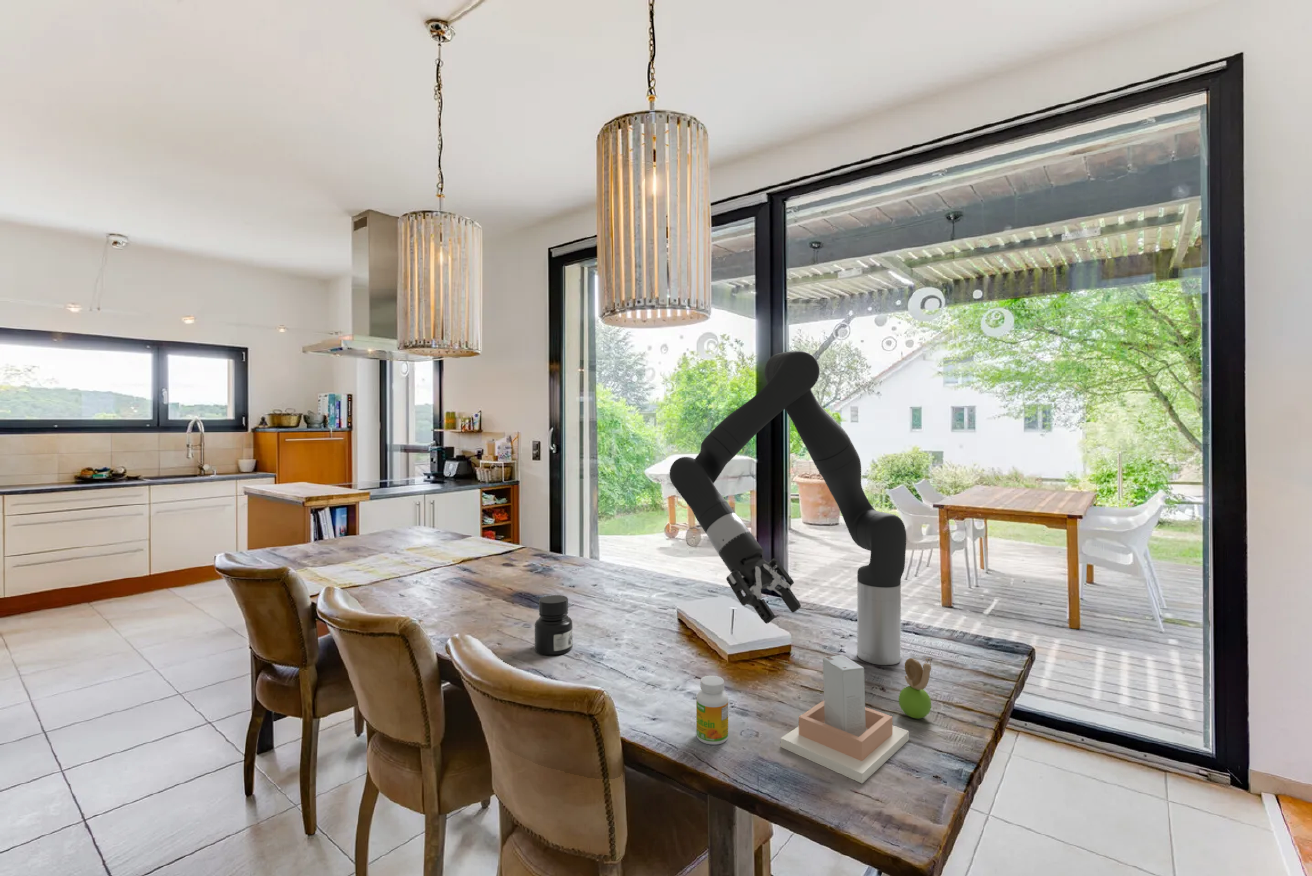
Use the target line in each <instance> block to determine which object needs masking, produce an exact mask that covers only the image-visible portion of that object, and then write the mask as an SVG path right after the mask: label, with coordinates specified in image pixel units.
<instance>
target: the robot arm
mask: <svg viewBox="0 0 1312 876" xmlns="http://www.w3.org/2000/svg"><path fill="white" fill-rule="evenodd" d="M764 367H765V368H764V377H765V381H766V385H764V387H763V388H762V389H761V390H760V391H758V392H757V394H755V395H754V396H753V397H752V398H751V399H749V400H748V401H747V402H745V403H744V404H742V405H740V407H738V408H737V409H736V410H734V411H732V412H731V413H730V414H729V415H727V416H726V417H725V418H724V419H723V420H721V422H719V424H717V426H716V427H714V428H713V430H712V431H711V432H709V434H708V435H707V436H705V438H704V439H703V440H702V442H701V444H700V451H699V453H698V454H697V455H696V457H695V458H694V457H691V456H682V457H679V458H677V459H676V460H675V461H674V462H672V463H671V466H670V469H669V478H670V479H669V480H670V482H671V484H672V485H673V487H674V488H675V489H676V490H677V492H678V493H679V495H680V496H681V497H682V498H683V500H684V501H685V502H686V503H685V504H687V505H688V507H689V508H690V509H691V511H692V513H693V515H694V517H695V518H696V521H697V522H698V523H699V525H700V526H701V528H702V530H703V531H704V533H705V535H706V536H707V538H708V539H709V542H710V544H711V546H712V547H713V548H714V550H715V551H716V553H717V555H718V556H719V557H720V559H721V561H722V562H723V563H724V565H725V566H726V568H727V569H728V570H729V572H730V574H728V575H727V576H726V578H725V579H726V581H727V583H728V585H729V586H730V588H731V590H732V591H733V593H734V595H735V596H736V598H737V599H738V601H739V603H740V604H741V605H742V606H743V607H745V606H746V605H749V607H751V608H754V610H755V611H756V613H757V614H758V616H759V617H760V619H761V620H762V621H763V622H764V623H765V624H769V623H771V622H772V621H773V620H774V619H775V618H776V616H775V614H774V613H773V611H772V609H771V608H770V607H769V605H768V603H767V602H766V601H765V599H764V598H762V589H767V590H768V591H774V592H775V593H777V594H778V595H780V598H781V600H782V602H784V604H785V605H786V607H787V608H788V610H789V611H790V612H791V613H797V611H799V609H800V608H801V607H802V605H801V603H800V601H799V600H798V599H797V597H796V595H795V594H794V593H793V592H792V589H791V588H792V586H793V584H794V583H795V581H794V580H793V578H792V577H791V576H790V574H789V573H788V571H786V569H785V568H784V567H783V566H782V564H781V563H780V562H779V560H778V559H777V558H776V557H774V558H772V559H771V560H770V561H769V562H768V561H766V560H765V559H764V558H763V554H764V549H763V548H762V546H761V545H760V543H759V542H758V541H757V539H756V538H755V537H754V535H753V533H752V532H751V531H750V530H749V528H748V527H747V525H746V524H745V522H744V521H743V520H742V519H741V518H740V517H739V515H737V514H736V513H735V511H734V510H733V508H732V506H731V505H730V504H729V502H728V501H727V500H726V499H725V497H723V495H722V494H721V493H720V491H718V489H717V487H716V485H715V482H716V481H717V479H718V478H719V477H720V475H721V474H722V471H723V470H724V468H725V467H726V466H727V464H729V462H730V461H732V460H733V458H734V457H735V456H737V454H738V453H739V452H740V451H741V450H742V449H743V448H744V447H745V446H746V445H747V444H748V443H749V442H750V441H751V440H752V439H753V438H754V437H755V436H756V435H757V434H758V433H759V432H760V431H761V430H762V429H763V428H764V427H765V426H767V424H768V423H770V422H771V421H772V420H773V419H775V417H776V416H778V415H779V414H781V412H782V411H784V410H785V412H786V414H787V415H788V416H789V418H790V420H791V422H792V425H793V426H794V427H795V430H796V431H797V433H798V435H799V437H800V439H801V441H802V442H803V444H804V446H805V448H806V450H807V452H808V454H809V456H810V458H811V460H812V462H813V464H814V465H815V467H816V469H817V471H818V472H819V474H820V475H821V477H822V479H823V480H824V482H825V483H824V484H825V485H826V486H827V489H829V492H830V494H831V496H832V497H833V499H834V501H835V503H836V504H837V507H838V510H839V511H840V513H841V516H842V519H843V521H844V523H845V526H846V528H847V531H848V534H849V535H850V537H851V539H852V541H853V542H854V543H855V544H856V545H857V546H858V547H859V548H861V549H864V550H866V551H870V555H869V556H870V557H869V558H870V559H869V564H866V565H863V566H860V567H859V568H858V570H857V573H856V575H857V580H856V581H857V586H856V587H857V592H856V594H857V595H856V596H857V598H856V599H857V600H856V601H857V602H856V603H857V604H856V605H857V609H856V613H857V614H856V615H857V619H856V621H857V625H856V627H857V629H856V631H857V634H856V635H857V636H856V637H857V639H856V641H857V642H856V647H857V648H856V651H857V653H856V655H857V657H858V659H860V660H862V661H864V662H867V663H870V664H874V665H879V666H892V665H897V664H899V663H900V662H901V646H902V645H901V644H902V643H901V634H902V633H901V631H902V630H901V627H902V625H901V624H902V623H901V622H902V619H901V617H902V615H901V614H902V613H901V612H902V610H901V609H902V607H901V606H902V604H901V603H902V602H901V601H902V597H901V596H902V595H901V593H902V592H901V590H902V584H901V583H902V576H903V574H904V572H905V568H906V567H905V565H906V564H905V563H906V552H907V551H906V550H907V529H906V526H905V524H904V521H903V519H901V517H899V516H898V515H896V514H892V513H889V512H883V511H880V510H879V511H878V510H876V508H874V507H873V506H872V504H871V502H870V501H869V499H868V498H867V496H866V494H865V492H864V489H863V486H862V463H861V458H860V456H859V454H858V451H857V449H856V448H855V446H854V444H853V442H852V441H851V438H850V437H849V435H848V434H847V432H846V430H844V428H843V427H842V426H841V425H840V424H839V422H837V420H836V419H834V417H833V416H831V415H830V413H829V412H827V410H825V408H824V407H823V406H822V405H821V403H819V401H818V400H817V398H816V396H815V394H814V393H813V390H812V389H813V387H814V386H815V385H816V383H817V382H818V380H819V377H820V365H819V363H818V360H817V358H816V357H815V356H814V355H813V354H811V353H809V352H807V351H805V350H790V351H782V352H779V353H778V352H777V353H776V354H773V355H772V356H770V358H768V360H767V362H766V364H765V366H764ZM782 577H783V578H784V579H785V580H784V579H782ZM742 591H743V592H744V594H745V595H744V594H743V593H742Z"/></svg>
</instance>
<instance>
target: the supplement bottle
mask: <svg viewBox="0 0 1312 876" xmlns="http://www.w3.org/2000/svg"><path fill="white" fill-rule="evenodd" d="M695 710H696V713H695V714H696V722H695V723H696V726H695V727H696V728H695V729H696V732H695V733H696V734H695V735H696V737H697V739H698V740H699V741H700V742H701V743H704V744H707V745H710V746H711V745H713V746H714V745H721V744H724V743H725V742H726V741H727V740H728V737H729V696H728V693H727V692H726V691H725V680H724V679H723V678H722V677H721V676H719V675H718V676H717V675H706V676H705V675H704V676H703V677H701V678H700V690H698V692H697V693H696V709H695Z"/></svg>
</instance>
